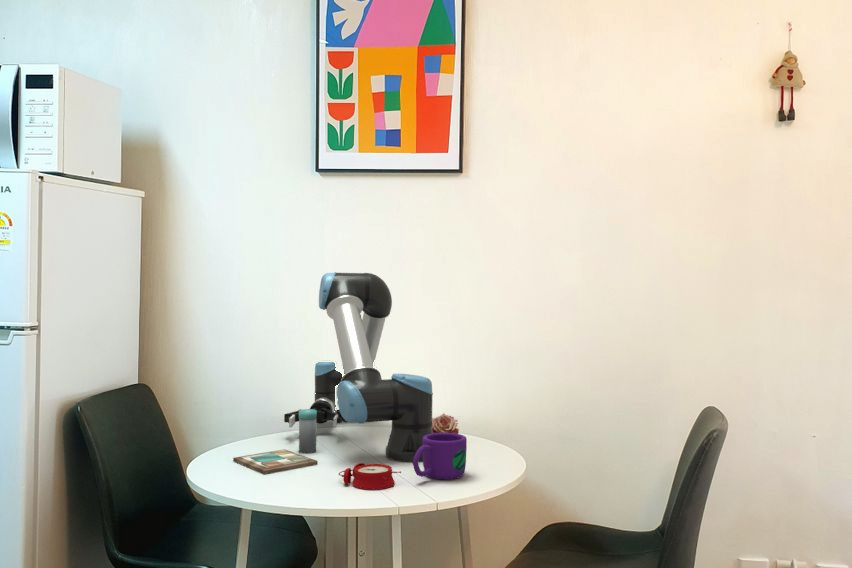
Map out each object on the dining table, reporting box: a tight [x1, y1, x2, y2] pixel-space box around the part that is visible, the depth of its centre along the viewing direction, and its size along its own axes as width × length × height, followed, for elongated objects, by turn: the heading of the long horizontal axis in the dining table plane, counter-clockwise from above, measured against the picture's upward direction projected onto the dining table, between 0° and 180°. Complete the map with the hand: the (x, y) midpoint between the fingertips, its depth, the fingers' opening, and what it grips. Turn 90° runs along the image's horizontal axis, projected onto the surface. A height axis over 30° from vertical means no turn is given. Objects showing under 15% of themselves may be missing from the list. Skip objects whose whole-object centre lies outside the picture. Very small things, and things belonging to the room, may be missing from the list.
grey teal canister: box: [298, 408, 317, 454], centre depth 208 cm, size 5×5×12 cm
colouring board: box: [232, 449, 318, 476], centre depth 194 cm, size 18×16×1 cm
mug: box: [412, 433, 468, 481], centre depth 180 cm, size 17×11×10 cm, turn 138°
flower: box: [432, 413, 460, 434], centre depth 223 cm, size 10×9×8 cm
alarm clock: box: [337, 462, 402, 491], centre depth 174 cm, size 10×6×15 cm
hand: (312, 422), depth 218 cm, fingers open, 13 cm apart
